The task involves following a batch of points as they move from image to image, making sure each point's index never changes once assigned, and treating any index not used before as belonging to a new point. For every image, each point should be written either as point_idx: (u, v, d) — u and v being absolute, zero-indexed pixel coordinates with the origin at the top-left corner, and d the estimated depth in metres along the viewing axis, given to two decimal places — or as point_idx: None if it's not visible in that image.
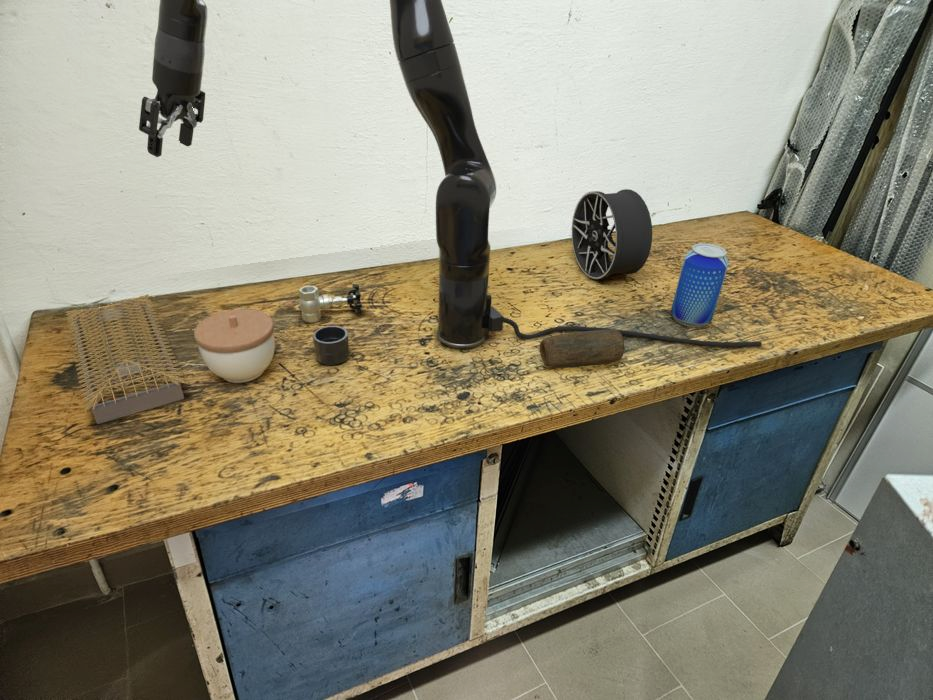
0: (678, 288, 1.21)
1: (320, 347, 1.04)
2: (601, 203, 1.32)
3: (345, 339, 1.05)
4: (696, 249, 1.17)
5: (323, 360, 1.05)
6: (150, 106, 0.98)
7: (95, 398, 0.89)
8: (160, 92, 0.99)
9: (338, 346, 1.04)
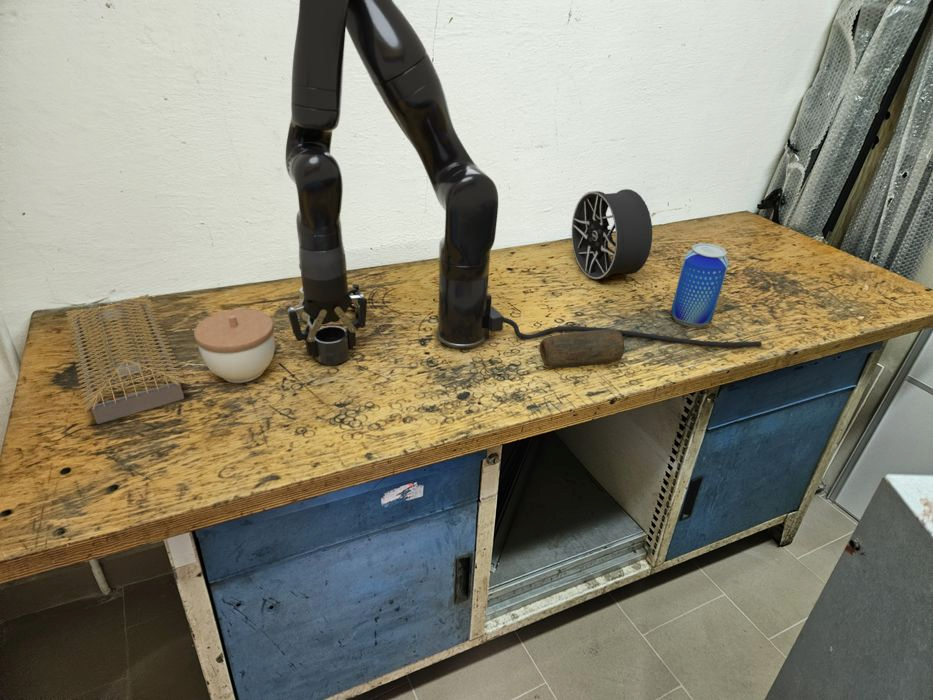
0: (678, 288, 1.21)
1: (320, 347, 1.04)
2: (601, 203, 1.32)
3: (345, 339, 1.05)
4: (696, 249, 1.17)
5: (323, 360, 1.05)
6: (288, 315, 1.00)
7: (95, 398, 0.89)
8: (304, 298, 1.00)
9: (338, 346, 1.04)
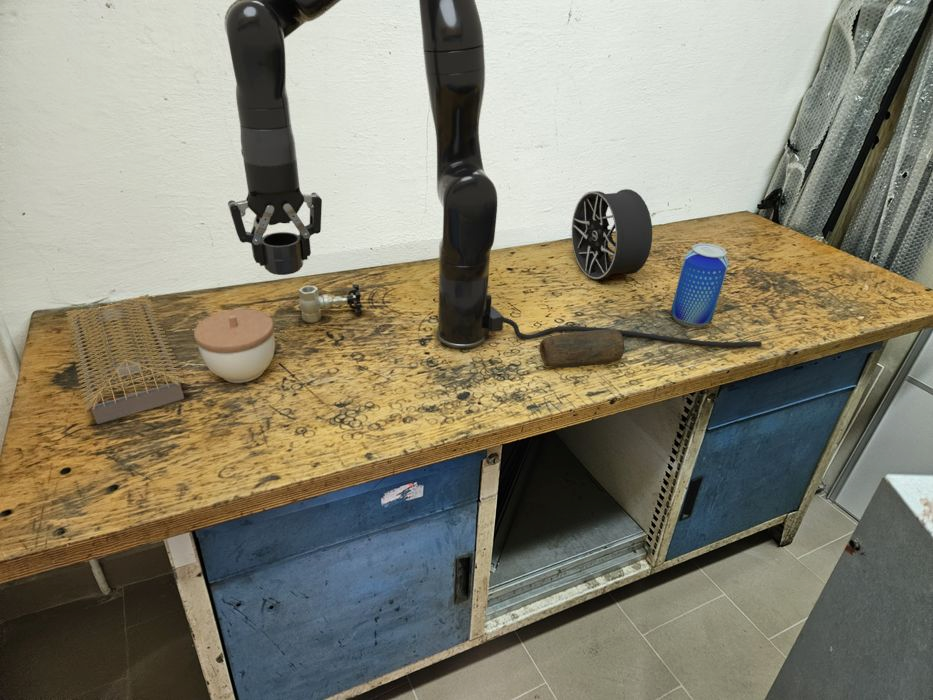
0: (678, 288, 1.21)
1: (268, 252, 0.92)
2: (601, 203, 1.32)
3: (297, 244, 0.93)
4: (696, 249, 1.17)
5: (272, 268, 0.93)
6: (230, 210, 0.88)
7: (95, 398, 0.89)
8: (248, 191, 0.88)
9: (288, 251, 0.92)
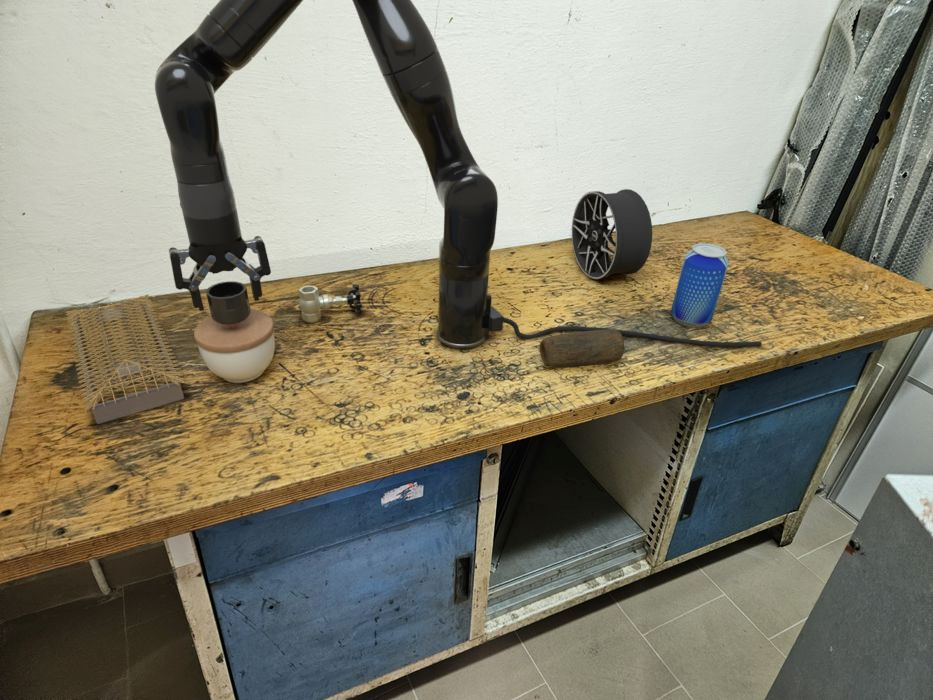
0: (678, 288, 1.21)
1: (213, 303, 0.93)
2: (601, 203, 1.32)
3: (242, 295, 0.94)
4: (696, 249, 1.17)
5: (218, 318, 0.95)
6: (170, 257, 0.88)
7: (95, 398, 0.89)
8: None
9: (233, 302, 0.93)
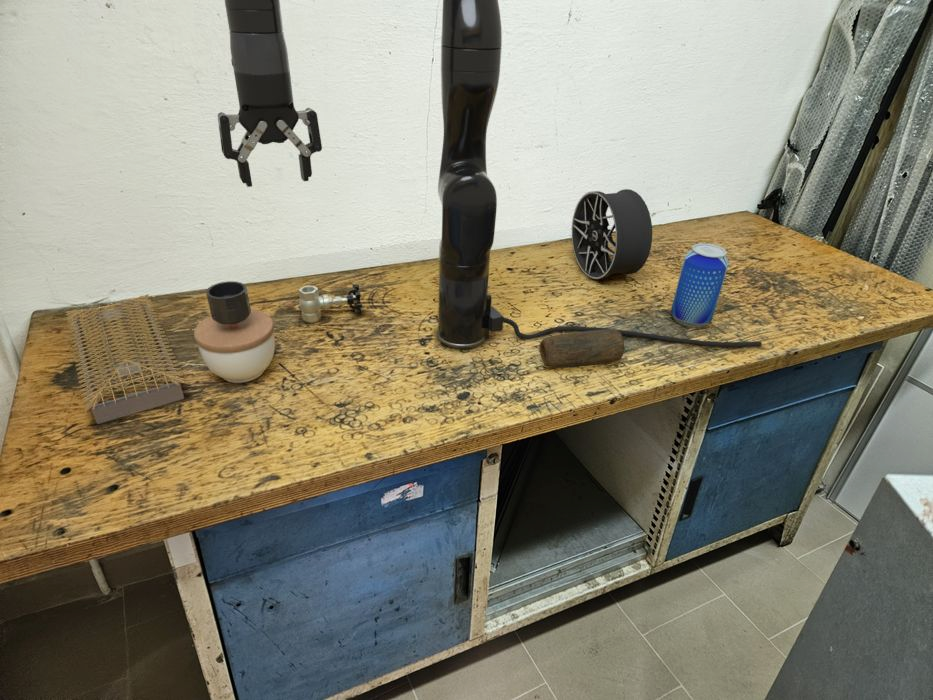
0: (678, 288, 1.21)
1: (213, 303, 0.93)
2: (601, 203, 1.32)
3: (242, 295, 0.94)
4: (696, 249, 1.17)
5: (218, 318, 0.95)
6: (219, 121, 0.83)
7: (95, 398, 0.89)
8: None
9: (233, 302, 0.93)
